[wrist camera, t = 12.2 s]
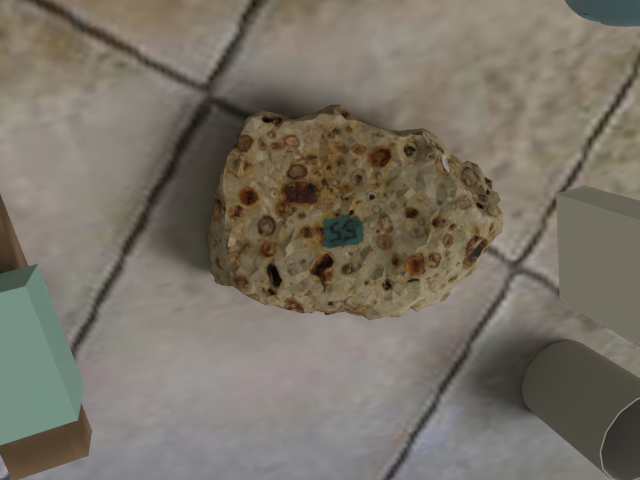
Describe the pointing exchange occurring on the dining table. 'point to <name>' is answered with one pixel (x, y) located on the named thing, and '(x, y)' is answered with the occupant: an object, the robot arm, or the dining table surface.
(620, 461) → the cup
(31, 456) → the rail
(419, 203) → the rock
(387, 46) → the dining table surface
